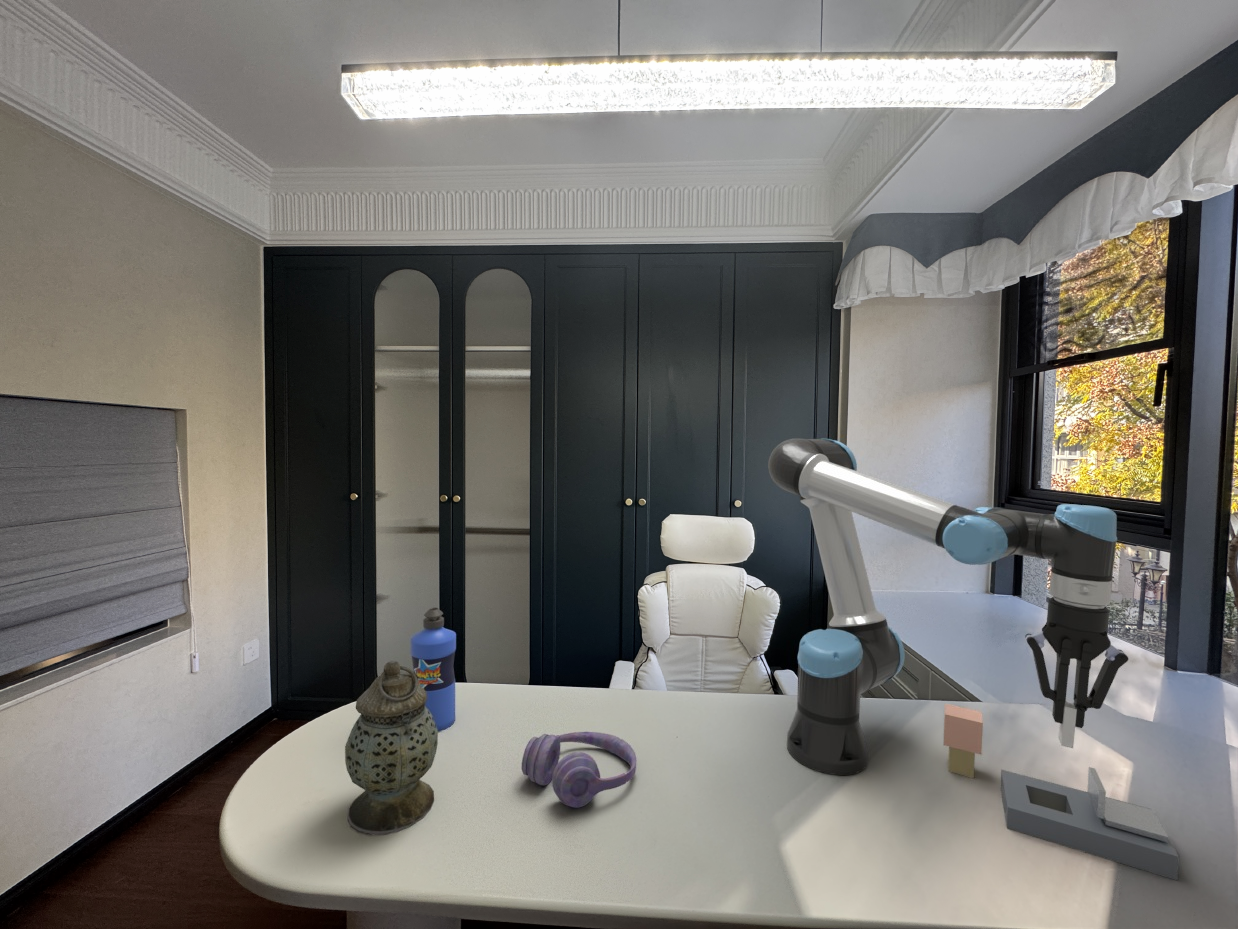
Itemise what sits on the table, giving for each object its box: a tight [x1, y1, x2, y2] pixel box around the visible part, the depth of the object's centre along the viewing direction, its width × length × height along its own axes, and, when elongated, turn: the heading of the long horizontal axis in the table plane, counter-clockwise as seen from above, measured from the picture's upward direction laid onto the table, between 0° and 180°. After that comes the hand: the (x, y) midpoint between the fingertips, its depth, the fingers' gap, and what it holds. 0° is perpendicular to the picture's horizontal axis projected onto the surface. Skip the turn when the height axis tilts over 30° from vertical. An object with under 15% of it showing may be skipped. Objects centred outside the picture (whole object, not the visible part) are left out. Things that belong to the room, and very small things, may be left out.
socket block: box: [999, 769, 1180, 881], centre depth 88 cm, size 20×12×4 cm, turn 59°
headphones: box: [521, 731, 637, 808], centre depth 100 cm, size 18×8×20 cm
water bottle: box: [410, 607, 457, 733], centre depth 118 cm, size 9×9×25 cm
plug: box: [943, 703, 984, 779], centre depth 104 cm, size 6×5×11 cm
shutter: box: [1086, 766, 1169, 842], centre depth 85 cm, size 8×7×5 cm
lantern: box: [344, 660, 439, 836], centre depth 91 cm, size 14×14×25 cm
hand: (1065, 743), depth 89 cm, fingers closed
